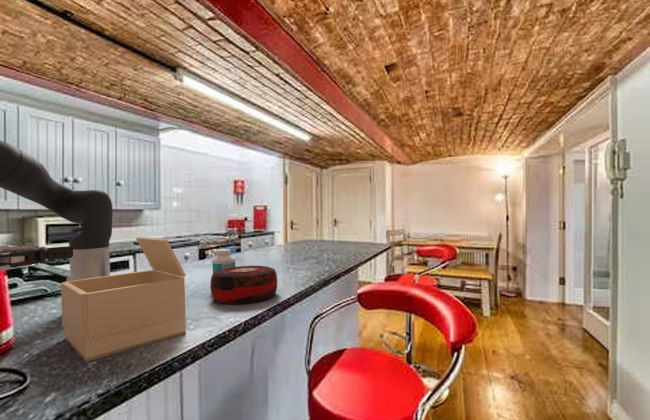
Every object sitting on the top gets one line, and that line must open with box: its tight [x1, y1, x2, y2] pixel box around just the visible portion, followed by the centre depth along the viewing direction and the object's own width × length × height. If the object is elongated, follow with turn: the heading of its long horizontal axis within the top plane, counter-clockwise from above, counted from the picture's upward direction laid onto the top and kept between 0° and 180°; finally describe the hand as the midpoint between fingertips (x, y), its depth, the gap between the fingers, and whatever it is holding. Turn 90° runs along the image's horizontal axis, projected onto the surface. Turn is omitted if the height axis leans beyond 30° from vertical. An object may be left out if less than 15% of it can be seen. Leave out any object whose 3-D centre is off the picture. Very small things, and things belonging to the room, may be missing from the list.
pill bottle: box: [212, 248, 236, 274], centre depth 116 cm, size 8×7×14 cm
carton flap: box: [135, 236, 187, 278], centre depth 79 cm, size 9×17×1 cm
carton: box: [60, 269, 187, 363], centre depth 74 cm, size 18×19×12 cm
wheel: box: [210, 265, 278, 305], centre depth 106 cm, size 20×8×20 cm
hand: (72, 251), depth 67 cm, fingers closed
